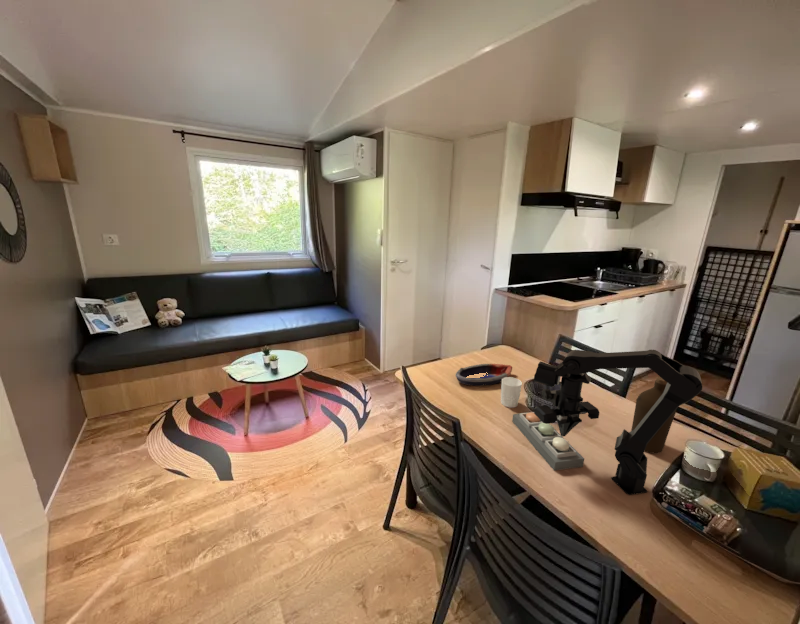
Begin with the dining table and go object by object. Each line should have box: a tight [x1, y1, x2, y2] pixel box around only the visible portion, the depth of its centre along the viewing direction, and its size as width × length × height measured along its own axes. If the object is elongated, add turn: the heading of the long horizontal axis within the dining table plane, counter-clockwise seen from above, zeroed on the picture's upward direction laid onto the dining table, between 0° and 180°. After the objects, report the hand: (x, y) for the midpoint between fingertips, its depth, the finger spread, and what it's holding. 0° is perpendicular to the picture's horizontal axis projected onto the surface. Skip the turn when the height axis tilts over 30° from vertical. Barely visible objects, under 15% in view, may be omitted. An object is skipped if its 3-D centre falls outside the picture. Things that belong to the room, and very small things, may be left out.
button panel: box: [511, 411, 585, 471], centre depth 117 cm, size 26×10×4 cm, turn 10°
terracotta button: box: [526, 411, 540, 423], centre depth 124 cm, size 5×5×2 cm
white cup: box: [500, 376, 523, 409], centre depth 139 cm, size 8×8×10 cm
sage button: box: [538, 423, 555, 435], centre depth 116 cm, size 5×5×2 cm
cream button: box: [552, 437, 571, 451], centre depth 108 cm, size 5×5×2 cm
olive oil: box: [630, 376, 677, 454], centre depth 113 cm, size 11×11×25 cm
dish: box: [455, 363, 513, 387], centre depth 161 cm, size 16×31×5 cm, turn 109°
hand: (562, 435), depth 107 cm, fingers closed
